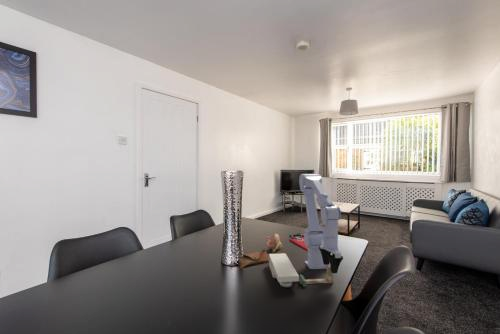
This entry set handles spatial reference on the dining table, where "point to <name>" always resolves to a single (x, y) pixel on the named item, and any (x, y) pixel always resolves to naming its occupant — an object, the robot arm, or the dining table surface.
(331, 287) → the dining table surface
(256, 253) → the sunglasses case
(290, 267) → the cream cabinet
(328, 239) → the robot arm
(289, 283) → the steel puck
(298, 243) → the red board with handle
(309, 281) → the wood scraper
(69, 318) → the dining table surface
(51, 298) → the dining table surface
